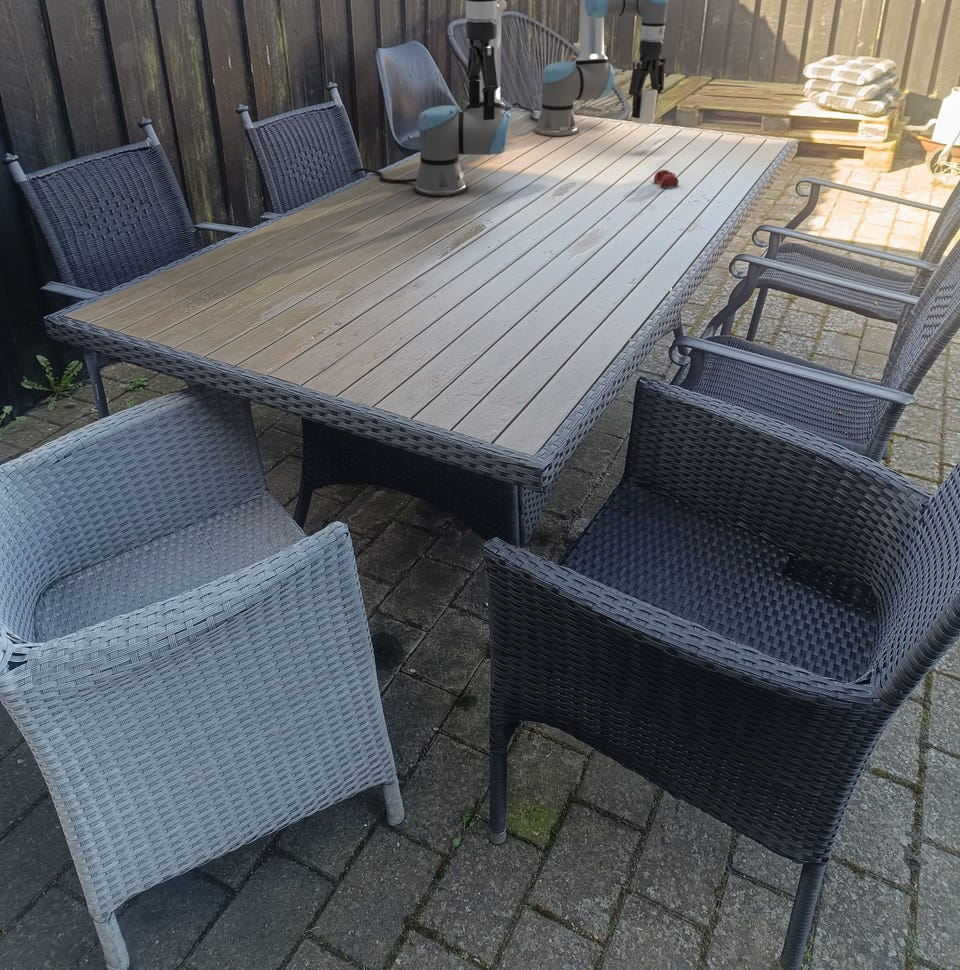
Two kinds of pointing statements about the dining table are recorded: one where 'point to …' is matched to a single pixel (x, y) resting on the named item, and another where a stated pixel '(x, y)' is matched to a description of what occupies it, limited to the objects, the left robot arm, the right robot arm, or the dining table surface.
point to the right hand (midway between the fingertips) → (643, 115)
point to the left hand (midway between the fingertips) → (481, 113)
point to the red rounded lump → (666, 178)
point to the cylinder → (647, 106)
